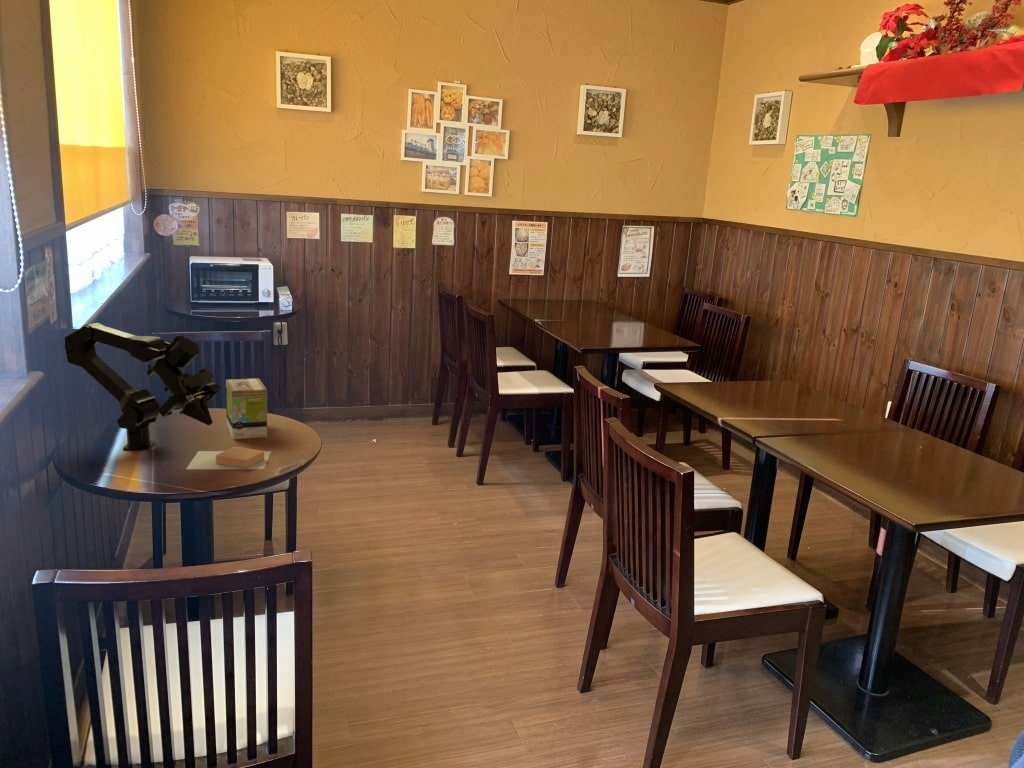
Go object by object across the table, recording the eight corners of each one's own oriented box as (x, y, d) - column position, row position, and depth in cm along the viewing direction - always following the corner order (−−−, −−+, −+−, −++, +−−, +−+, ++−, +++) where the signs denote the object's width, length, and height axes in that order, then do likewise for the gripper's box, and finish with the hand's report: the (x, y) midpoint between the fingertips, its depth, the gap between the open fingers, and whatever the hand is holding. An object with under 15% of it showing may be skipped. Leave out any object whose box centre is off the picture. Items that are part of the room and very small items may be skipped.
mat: (198, 452, 209) (198, 451, 209) (271, 452, 213) (271, 451, 212) (185, 470, 196) (185, 469, 196) (263, 470, 199) (263, 469, 199)
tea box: (268, 437, 225) (267, 388, 221) (232, 441, 220) (230, 390, 217) (260, 423, 238) (259, 376, 234) (226, 426, 233) (224, 378, 230)
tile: (215, 455, 200) (246, 460, 198) (234, 446, 208) (264, 451, 205) (216, 464, 201) (246, 469, 198) (234, 454, 208) (264, 459, 206)
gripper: (166, 366, 192) (206, 415, 192) (214, 353, 209) (250, 398, 209) (141, 392, 196) (180, 440, 196) (190, 377, 213) (225, 421, 213)
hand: (210, 424), depth 203 cm, fingers closed
